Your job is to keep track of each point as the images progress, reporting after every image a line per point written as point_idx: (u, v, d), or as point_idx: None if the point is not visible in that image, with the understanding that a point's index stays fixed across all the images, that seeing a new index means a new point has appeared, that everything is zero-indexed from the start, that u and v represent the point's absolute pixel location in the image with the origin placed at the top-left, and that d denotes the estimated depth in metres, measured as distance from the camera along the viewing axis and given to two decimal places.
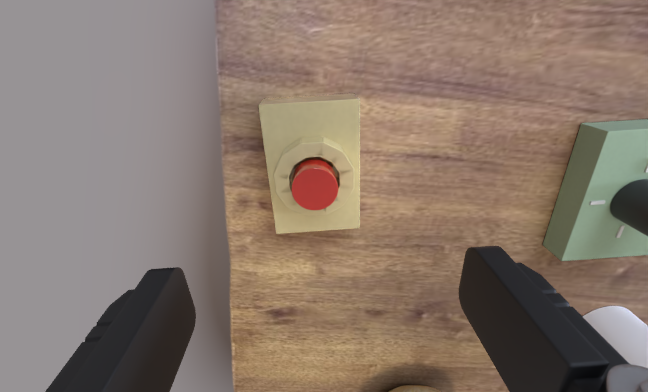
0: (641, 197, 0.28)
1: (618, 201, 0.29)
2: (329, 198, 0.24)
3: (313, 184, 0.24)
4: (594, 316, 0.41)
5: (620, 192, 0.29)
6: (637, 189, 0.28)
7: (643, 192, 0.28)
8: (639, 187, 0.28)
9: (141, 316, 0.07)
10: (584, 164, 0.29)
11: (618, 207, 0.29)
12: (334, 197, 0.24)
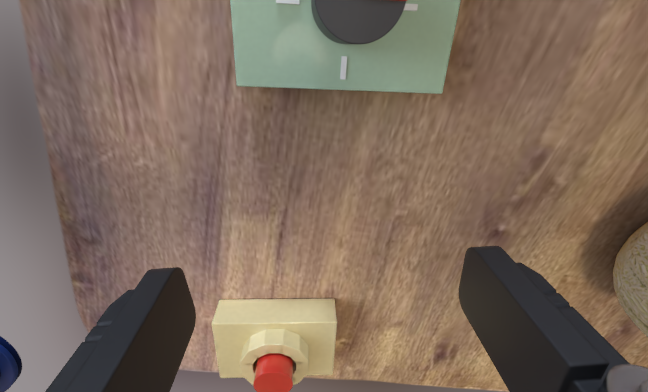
0: (325, 33, 0.18)
1: (341, 43, 0.19)
2: (281, 376, 0.28)
3: (267, 385, 0.29)
4: None
5: None
6: (319, 26, 0.18)
7: (319, 26, 0.18)
8: (317, 23, 0.18)
9: (141, 316, 0.07)
10: None
11: None
12: (281, 374, 0.28)
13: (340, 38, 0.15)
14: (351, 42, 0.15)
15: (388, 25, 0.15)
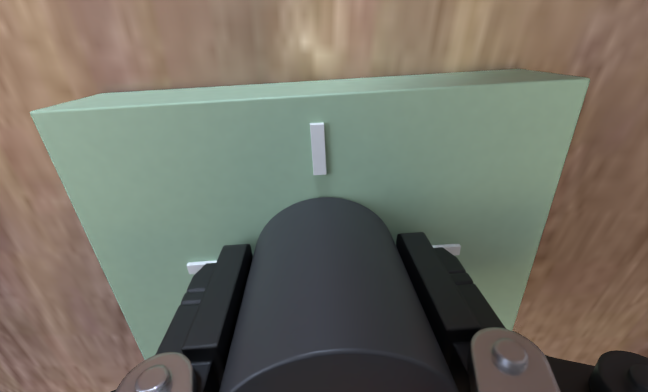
0: None
1: None
2: None
3: None
4: None
5: None
6: None
7: None
8: None
9: (230, 282, 0.08)
10: None
11: None
12: None
13: None
14: None
15: None
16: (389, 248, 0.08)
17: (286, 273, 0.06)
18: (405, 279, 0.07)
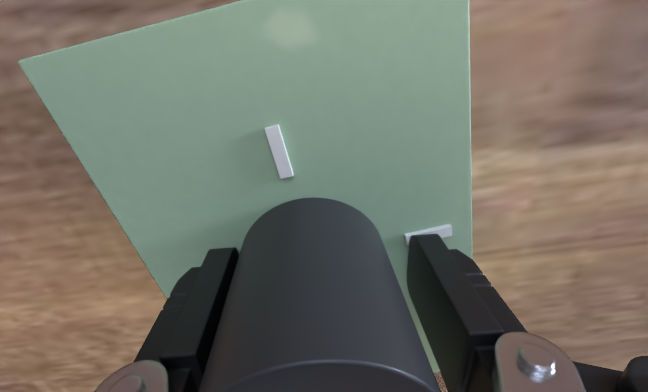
0: None
1: None
2: None
3: None
4: None
5: None
6: None
7: None
8: None
9: (214, 287, 0.07)
10: None
11: None
12: None
13: None
14: None
15: None
16: (372, 247, 0.07)
17: (261, 280, 0.06)
18: (388, 279, 0.07)
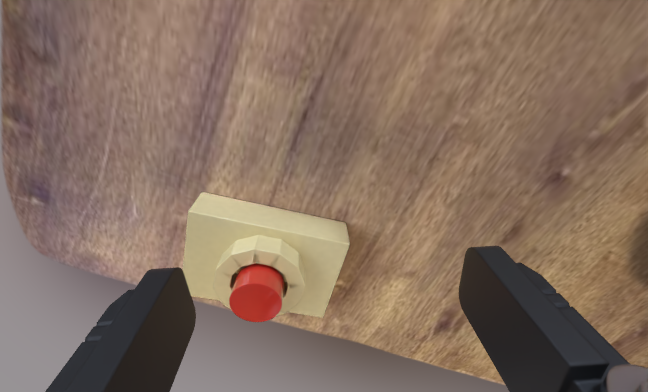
0: None
1: None
2: (270, 293, 0.21)
3: (247, 303, 0.21)
4: None
5: None
6: None
7: None
8: None
9: (141, 316, 0.07)
10: None
11: None
12: (270, 289, 0.21)
13: None
14: None
15: None
16: None
17: None
18: None
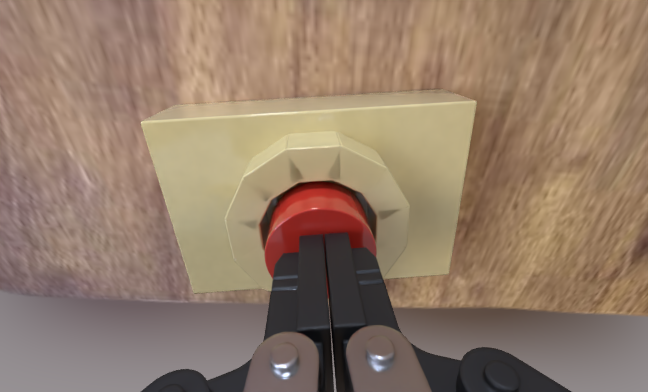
0: None
1: None
2: (344, 226, 0.09)
3: None
4: None
5: None
6: None
7: None
8: None
9: (320, 269, 0.08)
10: None
11: None
12: (344, 216, 0.09)
13: None
14: None
15: None
16: None
17: None
18: None
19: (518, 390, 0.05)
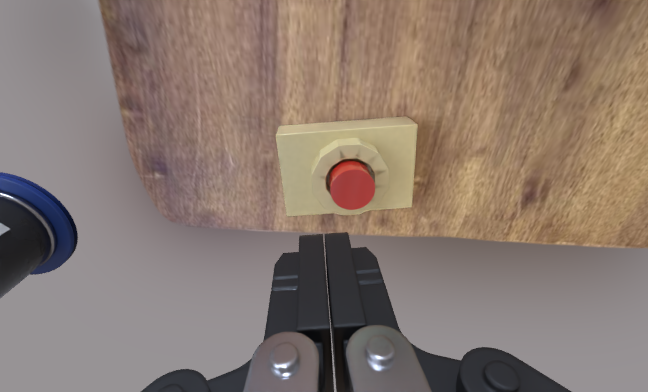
0: None
1: None
2: (362, 176, 0.24)
3: (346, 191, 0.25)
4: None
5: None
6: None
7: None
8: None
9: (320, 269, 0.08)
10: None
11: None
12: (362, 172, 0.24)
13: None
14: None
15: None
16: None
17: None
18: None
19: (518, 390, 0.05)
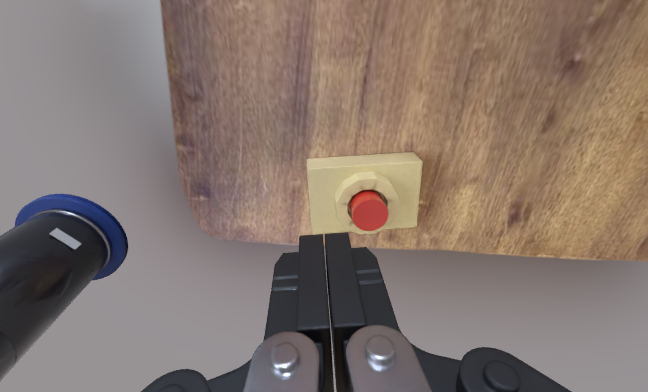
0: None
1: None
2: (378, 205, 0.30)
3: (365, 217, 0.31)
4: None
5: None
6: None
7: None
8: None
9: (320, 269, 0.08)
10: None
11: None
12: (378, 202, 0.30)
13: None
14: None
15: None
16: None
17: None
18: None
19: (518, 390, 0.05)
